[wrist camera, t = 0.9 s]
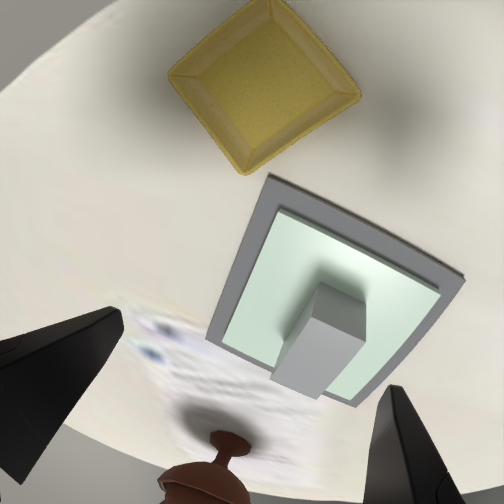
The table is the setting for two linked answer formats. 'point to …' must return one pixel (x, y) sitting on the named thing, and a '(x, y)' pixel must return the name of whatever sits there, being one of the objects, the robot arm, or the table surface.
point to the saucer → (262, 83)
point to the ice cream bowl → (208, 476)
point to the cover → (324, 309)
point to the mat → (349, 229)
